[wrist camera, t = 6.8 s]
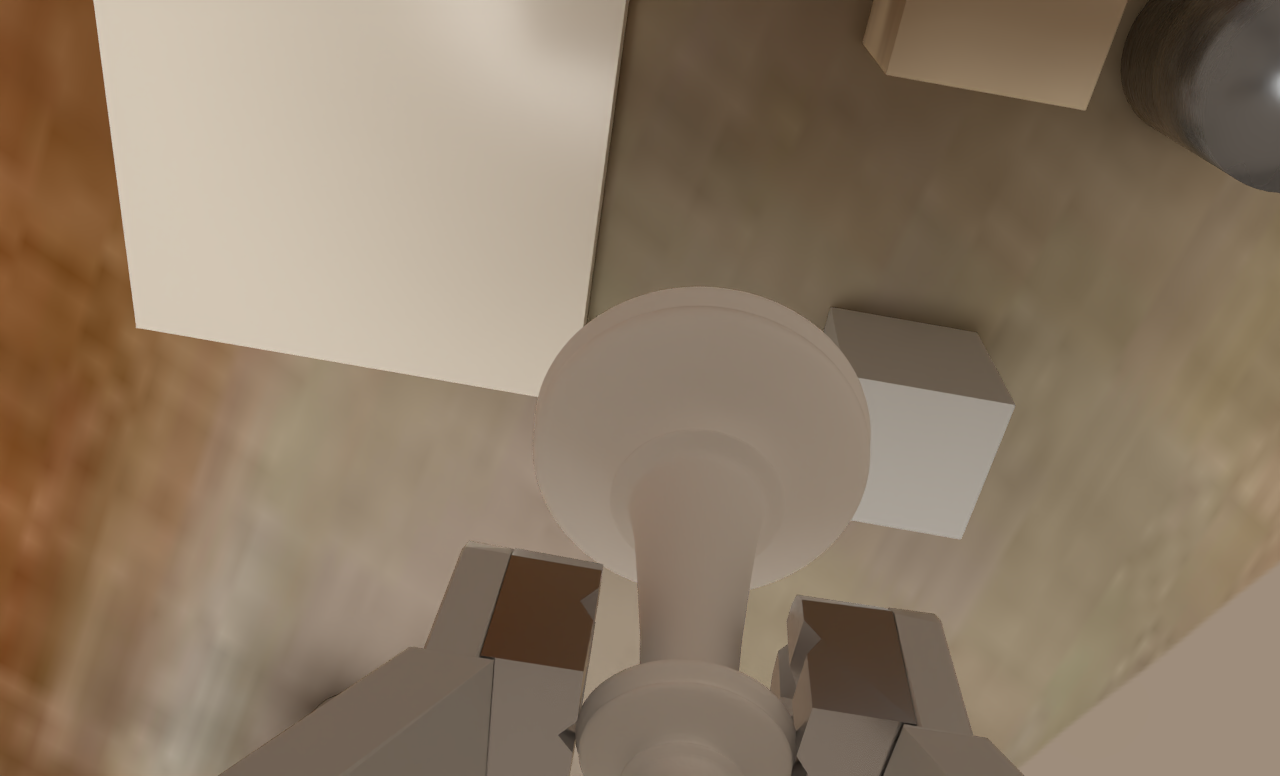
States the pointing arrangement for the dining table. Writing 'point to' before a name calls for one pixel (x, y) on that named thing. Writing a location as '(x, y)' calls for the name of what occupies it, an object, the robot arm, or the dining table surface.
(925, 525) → the grey block
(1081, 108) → the birch block
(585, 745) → the chess piece
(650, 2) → the dining table surface
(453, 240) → the ceramic tile
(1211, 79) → the metal tin
